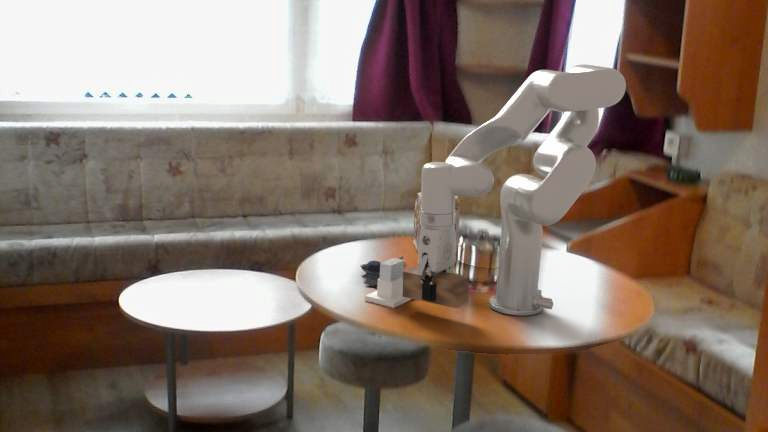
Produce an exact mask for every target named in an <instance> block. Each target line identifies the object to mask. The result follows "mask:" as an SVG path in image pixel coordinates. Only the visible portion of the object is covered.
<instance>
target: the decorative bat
mask: <svg viewBox="0 0 768 432" xmlns="http://www.w3.org/2000/svg"><path fill="white" fill-rule="evenodd" d="M398 259H402V260H404V256H401V257H399V258H398ZM382 262H383V261H382ZM382 262H380V261H379V260H370V261H368V262H367V263H364V264H361V265H359V267H361V270H362V271H364V272H365V273H364V274H363V275H362V276H361V278H363V279H367V280H365V281H363V284H365V285H367V286H371V287H374V288H377V283H378V279H379V278H380V263H382Z"/></svg>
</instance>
